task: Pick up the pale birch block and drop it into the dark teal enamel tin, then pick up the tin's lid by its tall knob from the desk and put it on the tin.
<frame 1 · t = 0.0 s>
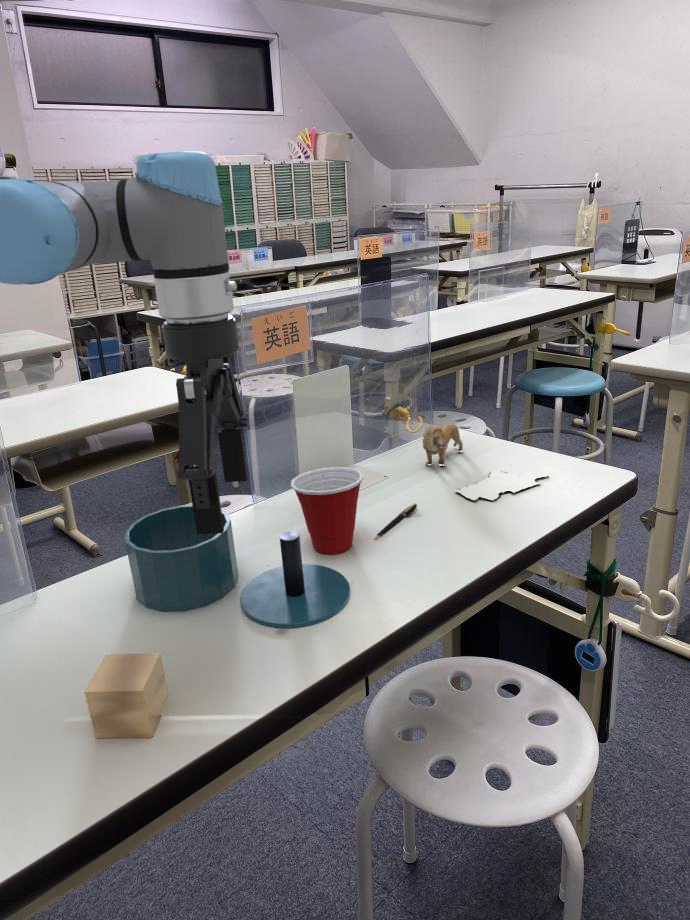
hand: (224, 504, 78), 19 cm above the table, tool pointing down, fingers open, 13 cm apart
tin: (188, 586, 98), on the table
block: (133, 717, 73), on the table
lion figurine: (444, 462, 136), on the table
fountain pen: (396, 526, 111), on the table
lid: (295, 595, 93), point 1 cm above the table
plastic cup: (332, 549, 106), on the table
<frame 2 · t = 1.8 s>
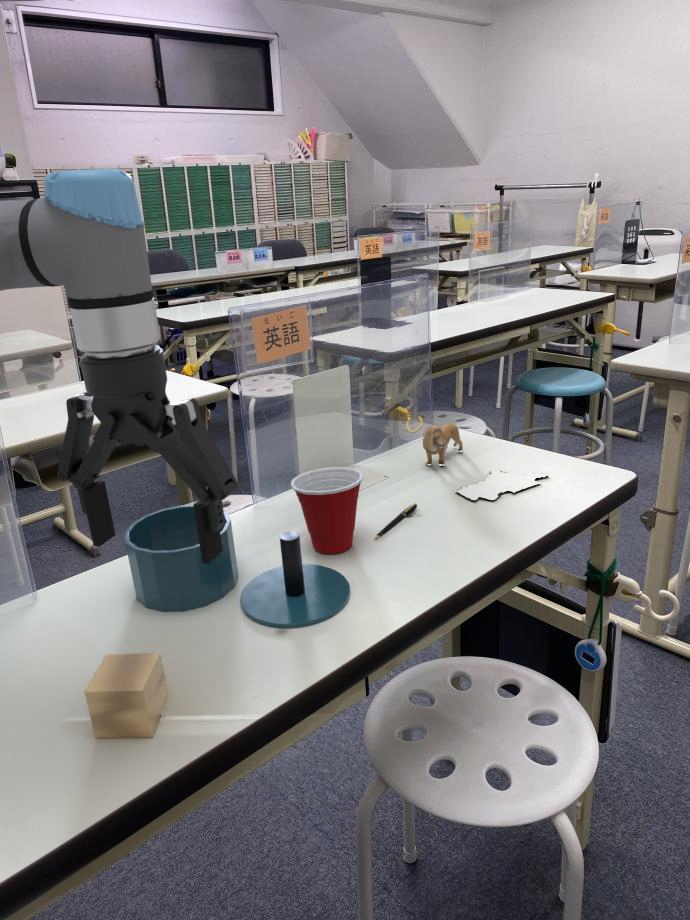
hand: (157, 549, 72), 17 cm above the table, tool pointing down, fingers open, 13 cm apart
nothing on the table moved.
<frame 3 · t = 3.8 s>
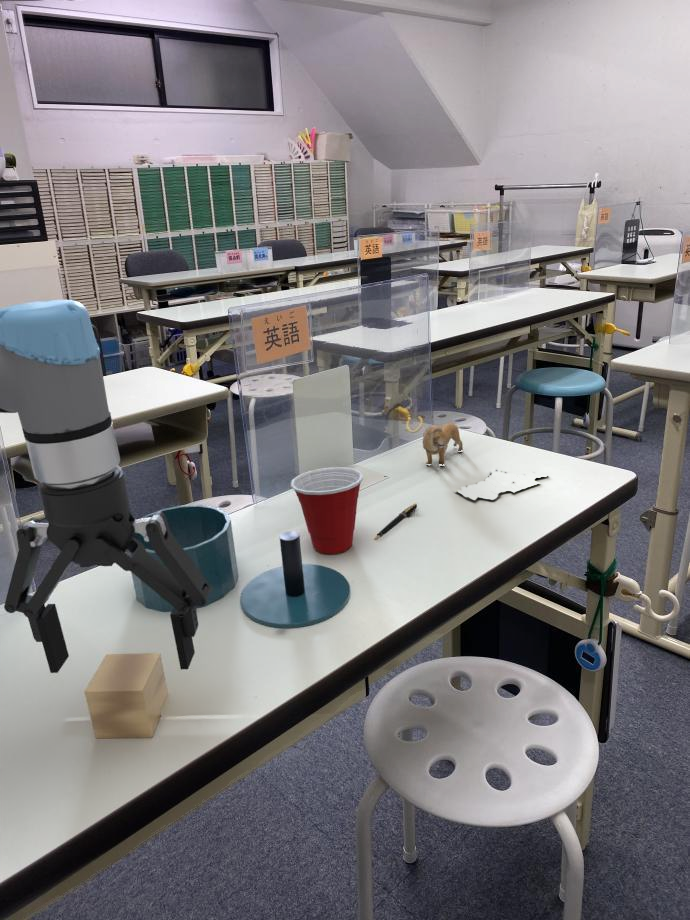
hand: (123, 662, 71), 7 cm above the table, tool pointing down, fingers open, 13 cm apart
nothing on the table moved.
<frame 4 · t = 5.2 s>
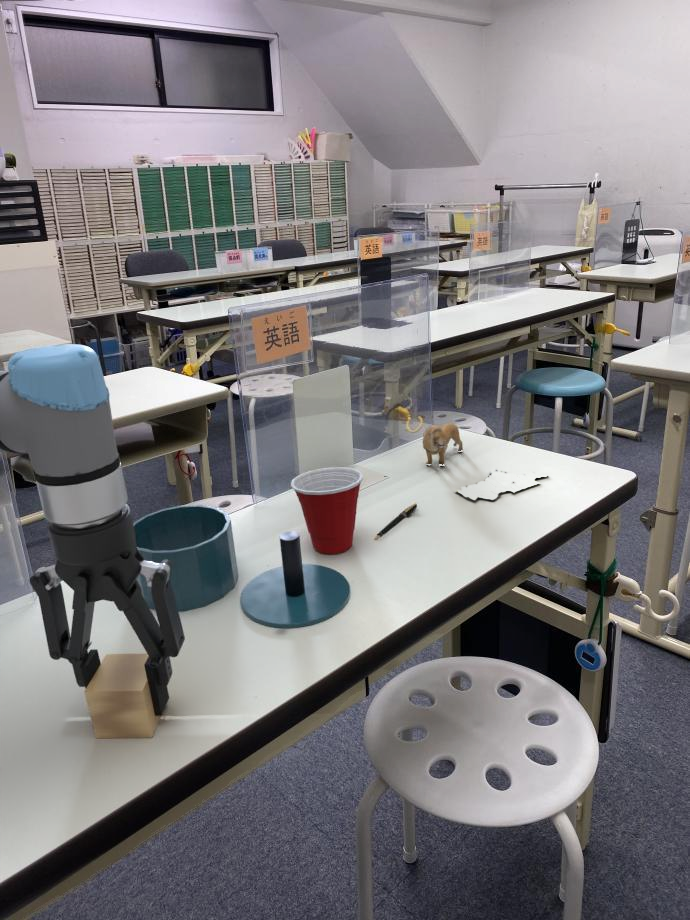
hand: (131, 706, 73), 1 cm above the table, tool pointing down, fingers closed on block, 6 cm apart
block: (133, 717, 73), on the table, touching gripper
everything else where it was.
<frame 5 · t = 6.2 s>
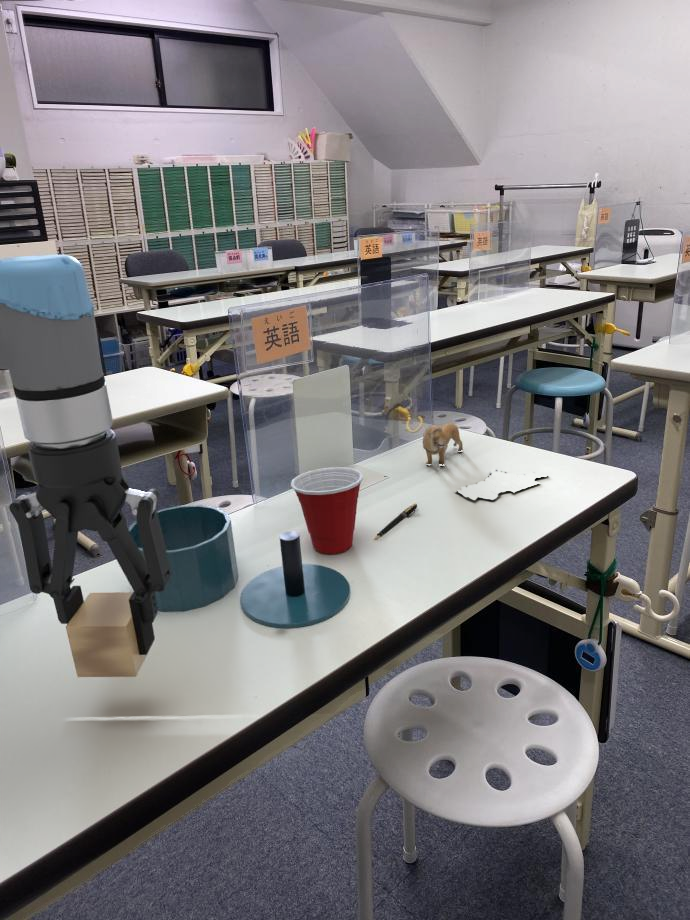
hand: (115, 646, 70), 9 cm above the table, tool pointing down, fingers closed on block, 6 cm apart
block: (117, 657, 71), point 8 cm above the table, touching gripper
everything else where it was.
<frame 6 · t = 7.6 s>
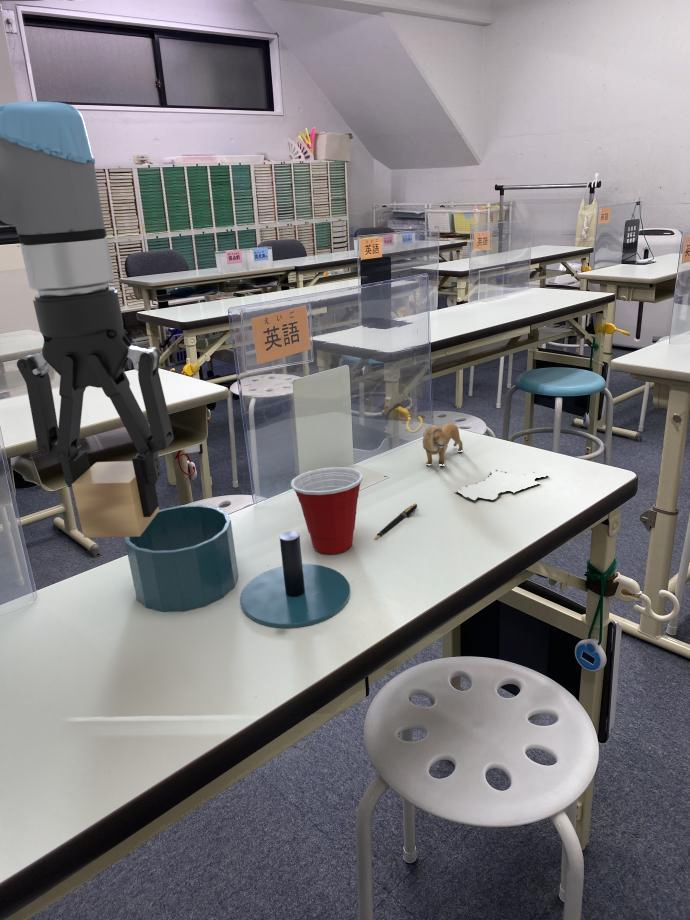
hand: (120, 511, 72), 21 cm above the table, tool pointing down, fingers closed on block, 6 cm apart
block: (122, 523, 73), point 20 cm above the table, touching gripper
everything else where it was.
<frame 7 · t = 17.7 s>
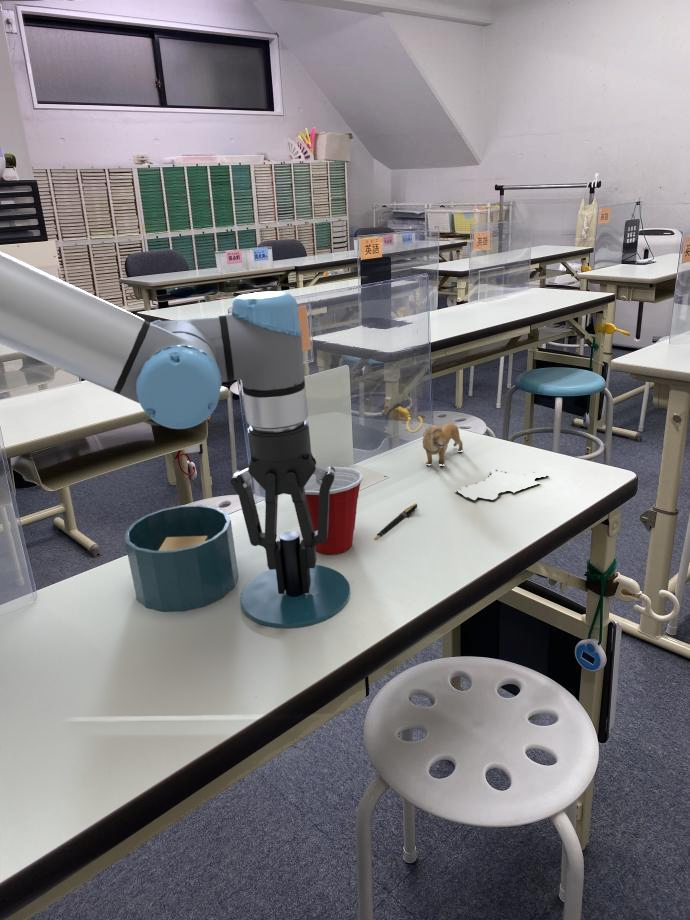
hand: (294, 587, 92), 2 cm above the table, tool pointing down, fingers closed on lid, 3 cm apart
block: (187, 583, 97), resting on tin
lid: (295, 595, 93), point 1 cm above the table, touching gripper
everything else where it was.
when the fingers open (11 cm above the table, at t = 24.9 s): lid stays where it is, resting on tin.
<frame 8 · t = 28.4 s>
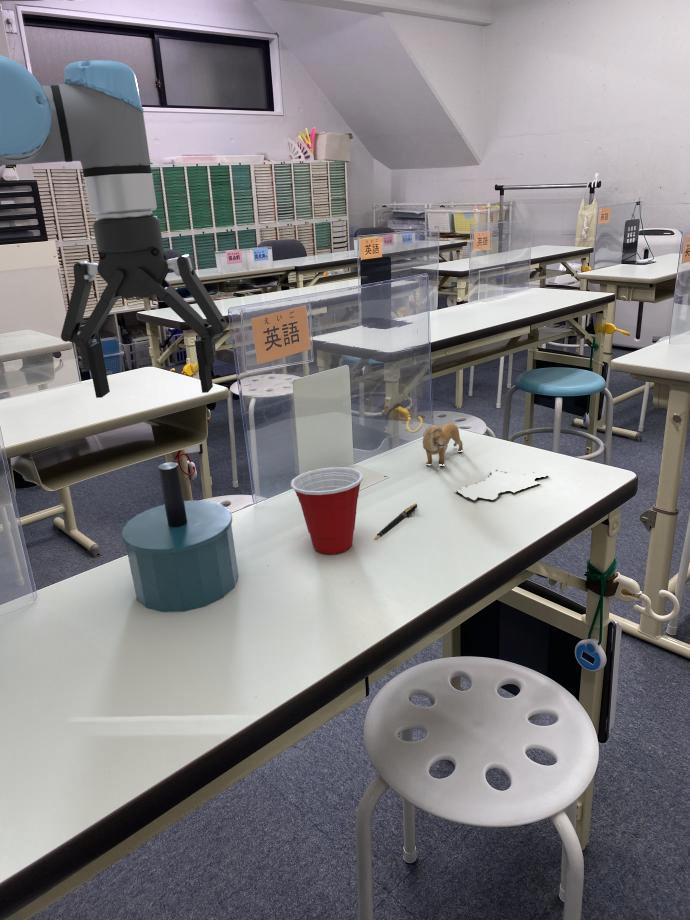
hand: (155, 392, 87), 29 cm above the table, tool pointing down, fingers open, 13 cm apart
lid: (178, 526, 94), point 9 cm above the table, touching tin
everything else where it was.
at the end: block inside the target area in the tin (0.0 cm from its centre), point 0.5 cm above the tin's base; lid 0.0 cm off-centre on the tin, point 9.5 cm above the tin's base; lid tilted 0° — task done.
